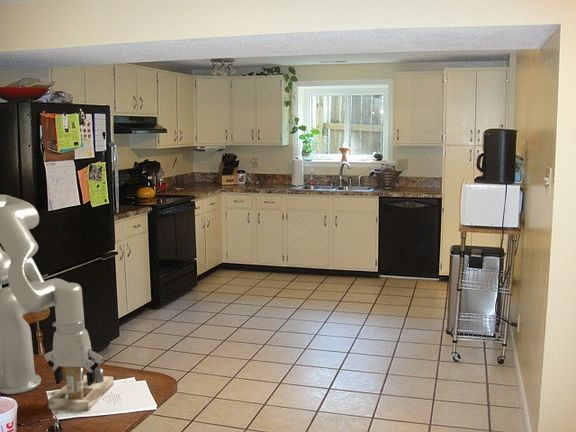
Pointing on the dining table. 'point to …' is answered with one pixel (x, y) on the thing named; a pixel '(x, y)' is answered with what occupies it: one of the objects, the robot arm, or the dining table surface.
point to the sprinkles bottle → (74, 383)
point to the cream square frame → (90, 392)
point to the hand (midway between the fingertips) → (75, 382)
